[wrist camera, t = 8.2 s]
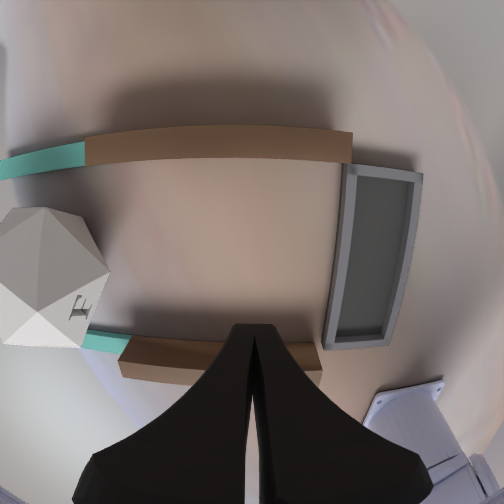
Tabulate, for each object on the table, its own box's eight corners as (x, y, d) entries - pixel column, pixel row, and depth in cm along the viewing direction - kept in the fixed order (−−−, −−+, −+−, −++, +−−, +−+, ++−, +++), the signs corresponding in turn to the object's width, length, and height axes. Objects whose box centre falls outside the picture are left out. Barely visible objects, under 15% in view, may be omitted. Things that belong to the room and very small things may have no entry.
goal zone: (136, 351, 20) (133, 355, 19) (11, 326, 19) (8, 329, 19) (110, 138, 15) (105, 138, 14) (-21, 167, 14) (-26, 168, 14)
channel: (311, 358, 20) (318, 386, 17) (136, 351, 20) (123, 377, 17) (334, 135, 15) (352, 132, 12) (110, 138, 15) (84, 137, 12)
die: (74, 320, 20) (94, 398, 12) (-17, 281, 14) (-49, 350, 7) (112, 228, 20) (149, 266, 13) (19, 178, 14) (-13, 184, 7)
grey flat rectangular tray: (384, 337, 19) (388, 345, 18) (321, 341, 19) (324, 350, 18) (414, 172, 15) (423, 173, 14) (342, 162, 15) (347, 163, 14)
